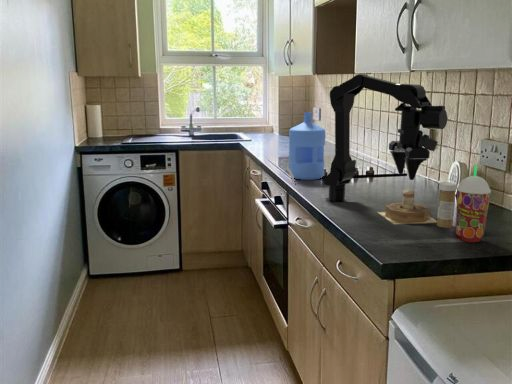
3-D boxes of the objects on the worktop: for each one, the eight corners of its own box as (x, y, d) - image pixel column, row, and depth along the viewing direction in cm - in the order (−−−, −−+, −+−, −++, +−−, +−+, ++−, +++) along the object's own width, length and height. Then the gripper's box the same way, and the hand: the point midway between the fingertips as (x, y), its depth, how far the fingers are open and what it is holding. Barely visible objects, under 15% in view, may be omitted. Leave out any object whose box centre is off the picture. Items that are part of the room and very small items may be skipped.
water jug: (281, 175, 228) (282, 112, 222) (311, 172, 235) (313, 111, 229) (300, 181, 214) (301, 114, 208) (331, 178, 221) (333, 113, 215)
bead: (381, 212, 161) (381, 203, 160) (418, 211, 162) (418, 202, 161) (395, 223, 149) (396, 213, 148) (435, 221, 150) (435, 212, 149)
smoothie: (452, 242, 135) (458, 167, 130) (452, 233, 142) (458, 162, 138) (486, 245, 132) (494, 169, 128) (485, 236, 139) (492, 164, 135)
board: (376, 214, 162) (377, 211, 161) (419, 213, 163) (419, 210, 163) (393, 227, 148) (393, 224, 148) (439, 226, 149) (439, 222, 149)
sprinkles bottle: (440, 225, 150) (443, 180, 147) (455, 228, 147) (459, 182, 144) (433, 229, 146) (436, 183, 144) (448, 232, 143) (452, 185, 141)
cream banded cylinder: (399, 215, 157) (401, 190, 155) (410, 215, 157) (411, 190, 155) (404, 218, 154) (405, 192, 152) (414, 218, 154) (416, 192, 152)
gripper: (449, 130, 147) (444, 183, 151) (423, 123, 166) (419, 171, 169) (411, 129, 147) (407, 183, 150) (389, 123, 165) (386, 171, 168)
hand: (406, 176), depth 159 cm, fingers open, 9 cm apart
